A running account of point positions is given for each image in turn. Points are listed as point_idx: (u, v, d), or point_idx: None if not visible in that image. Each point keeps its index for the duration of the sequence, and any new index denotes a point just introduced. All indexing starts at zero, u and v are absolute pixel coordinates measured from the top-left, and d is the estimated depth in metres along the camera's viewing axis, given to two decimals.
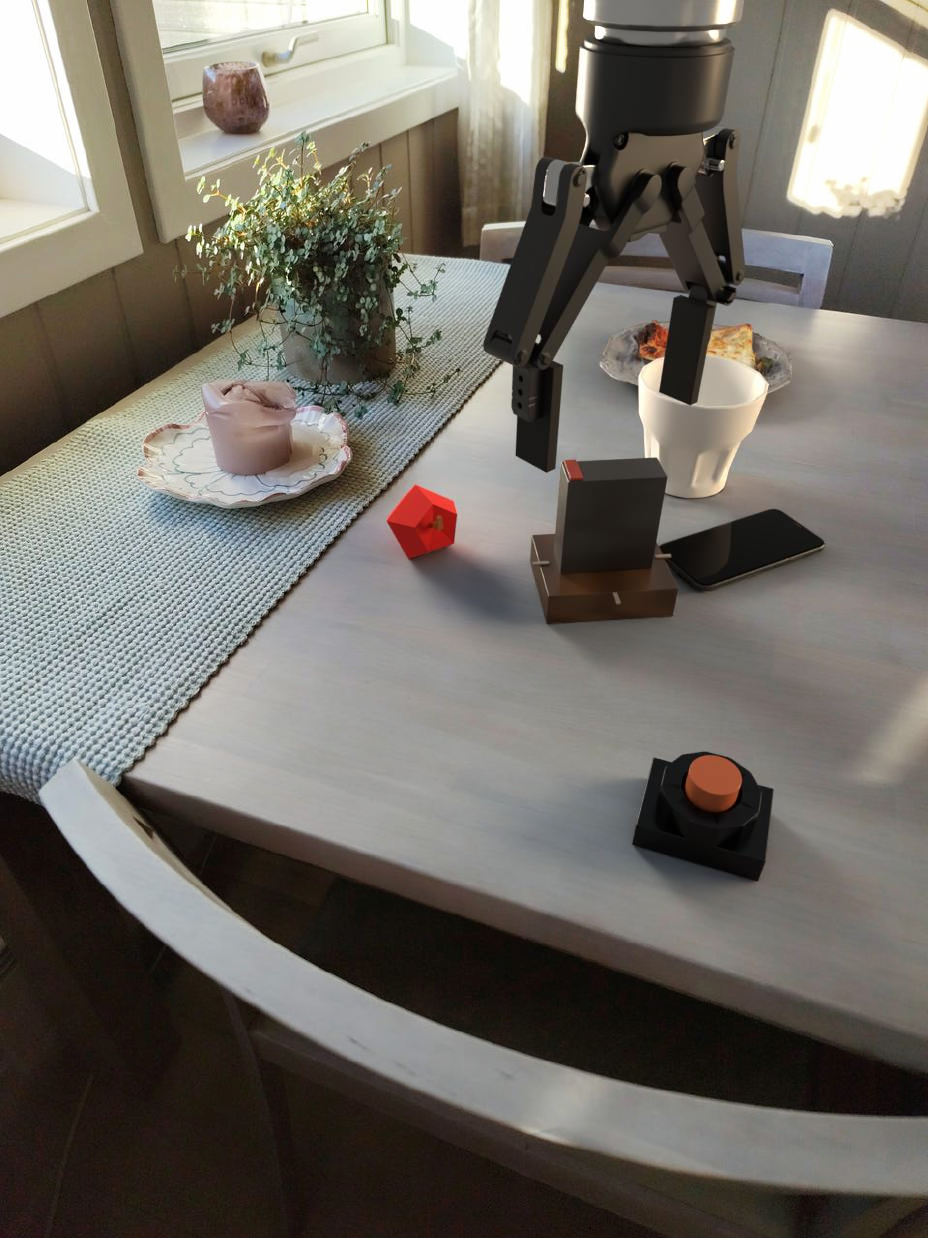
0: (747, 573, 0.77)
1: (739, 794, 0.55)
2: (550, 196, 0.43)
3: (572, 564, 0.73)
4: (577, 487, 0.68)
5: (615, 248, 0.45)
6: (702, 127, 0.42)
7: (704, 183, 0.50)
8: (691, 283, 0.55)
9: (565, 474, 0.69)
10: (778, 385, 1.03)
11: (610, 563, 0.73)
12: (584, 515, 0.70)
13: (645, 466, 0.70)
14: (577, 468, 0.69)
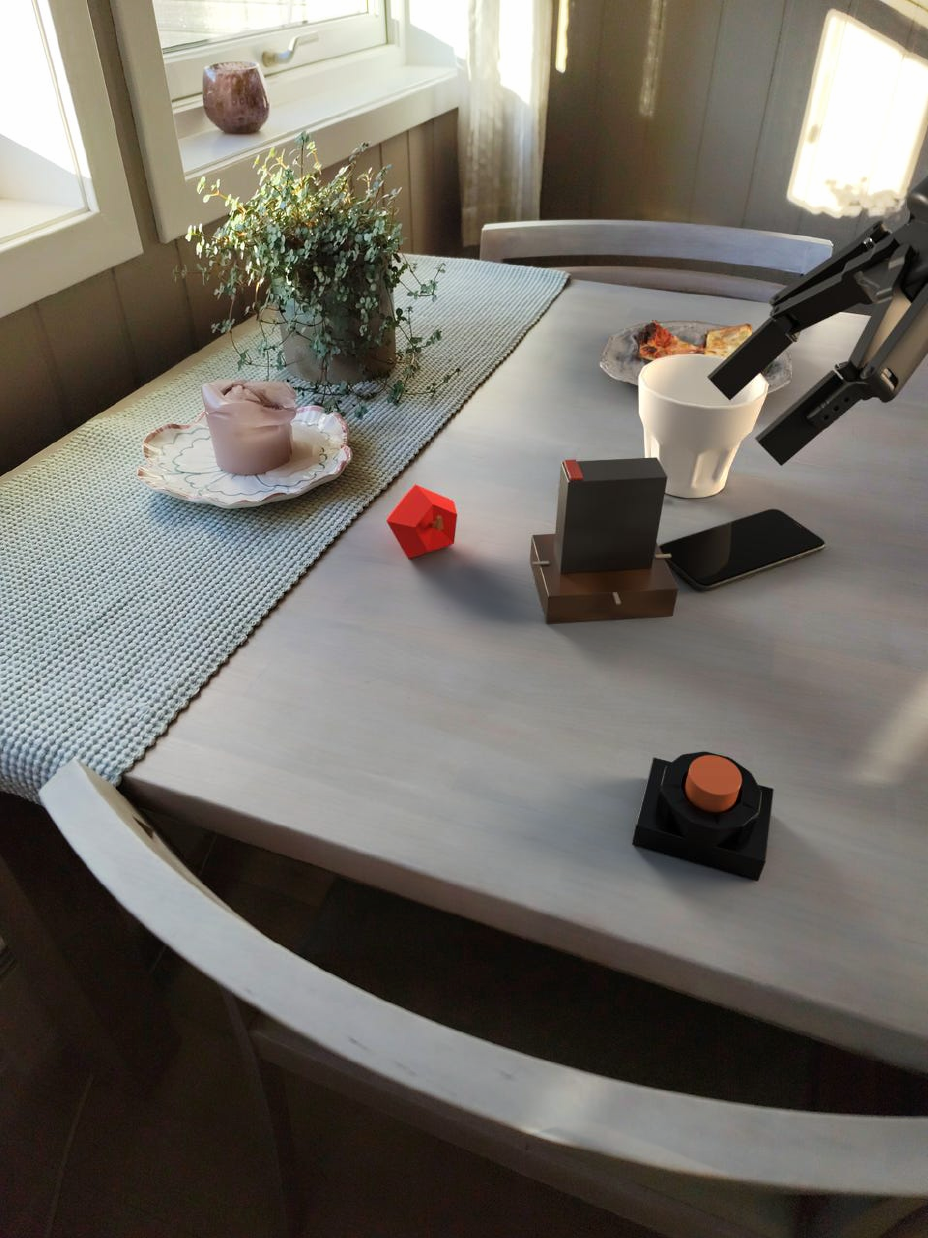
0: (747, 573, 0.77)
1: (739, 794, 0.55)
2: None
3: (572, 564, 0.73)
4: (577, 487, 0.68)
5: (844, 268, 0.64)
6: (913, 193, 0.58)
7: None
8: None
9: (565, 474, 0.69)
10: (778, 385, 1.03)
11: (610, 563, 0.73)
12: (584, 515, 0.70)
13: (645, 466, 0.70)
14: (577, 468, 0.69)
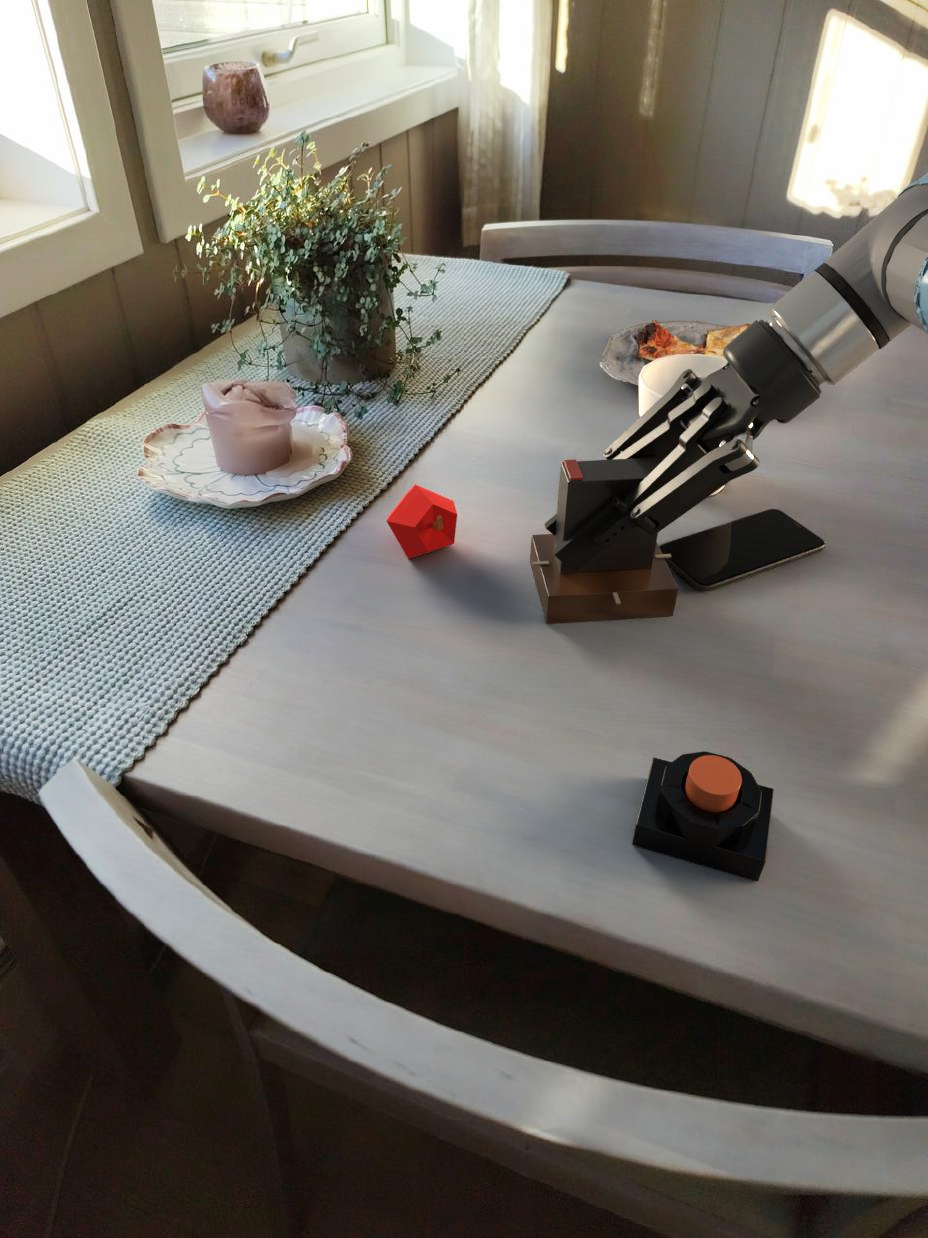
0: (747, 573, 0.77)
1: (739, 794, 0.55)
2: None
3: None
4: (577, 487, 0.68)
5: (669, 417, 0.69)
6: (726, 352, 0.64)
7: None
8: None
9: (565, 474, 0.69)
10: None
11: (610, 563, 0.73)
12: (584, 515, 0.70)
13: (645, 466, 0.70)
14: (577, 468, 0.69)
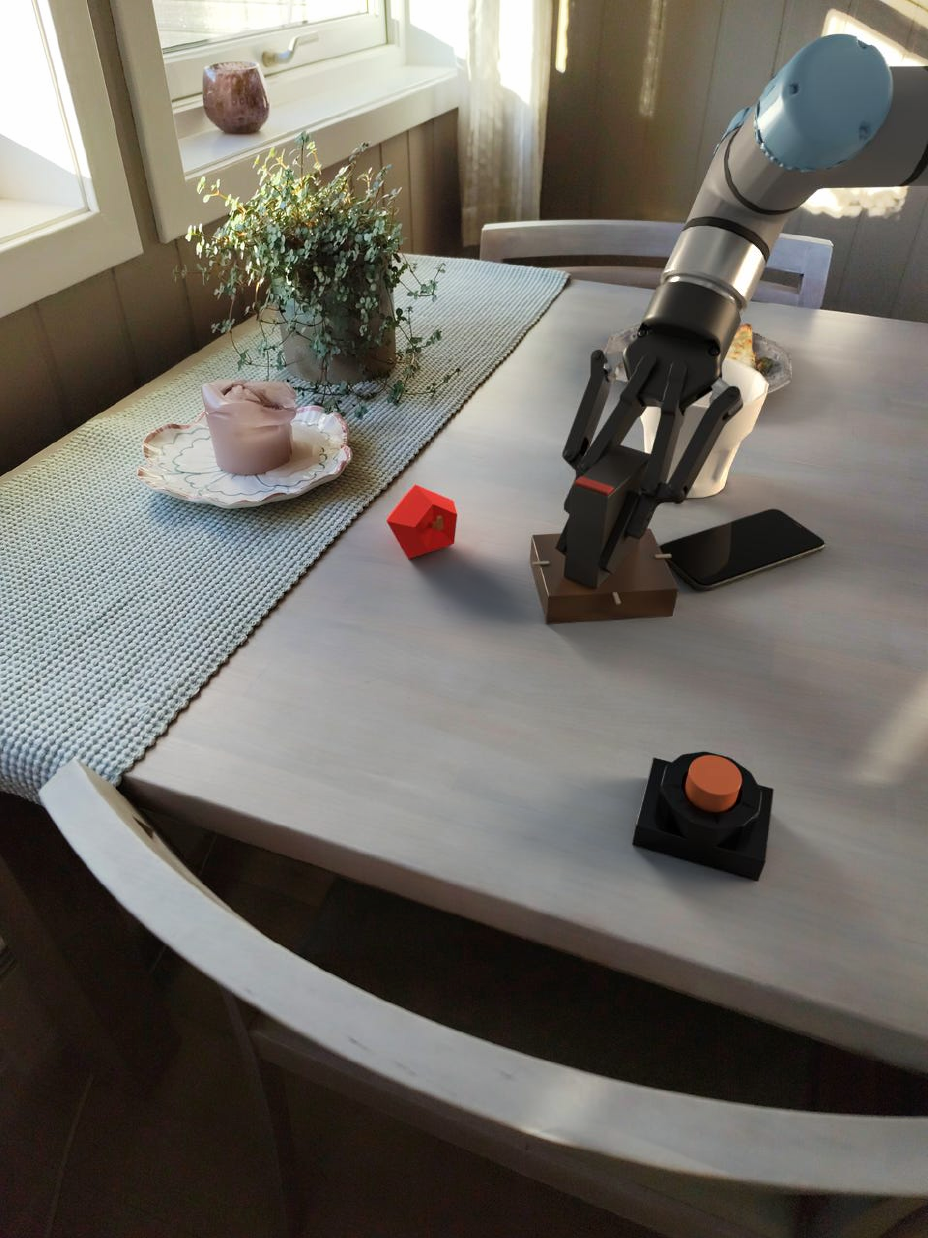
0: (747, 573, 0.77)
1: (739, 794, 0.55)
2: None
3: (603, 575, 0.72)
4: (611, 499, 0.67)
5: (627, 397, 0.71)
6: (670, 319, 0.68)
7: None
8: None
9: (592, 492, 0.67)
10: (778, 385, 1.03)
11: None
12: (613, 522, 0.69)
13: (626, 454, 0.71)
14: (596, 482, 0.67)
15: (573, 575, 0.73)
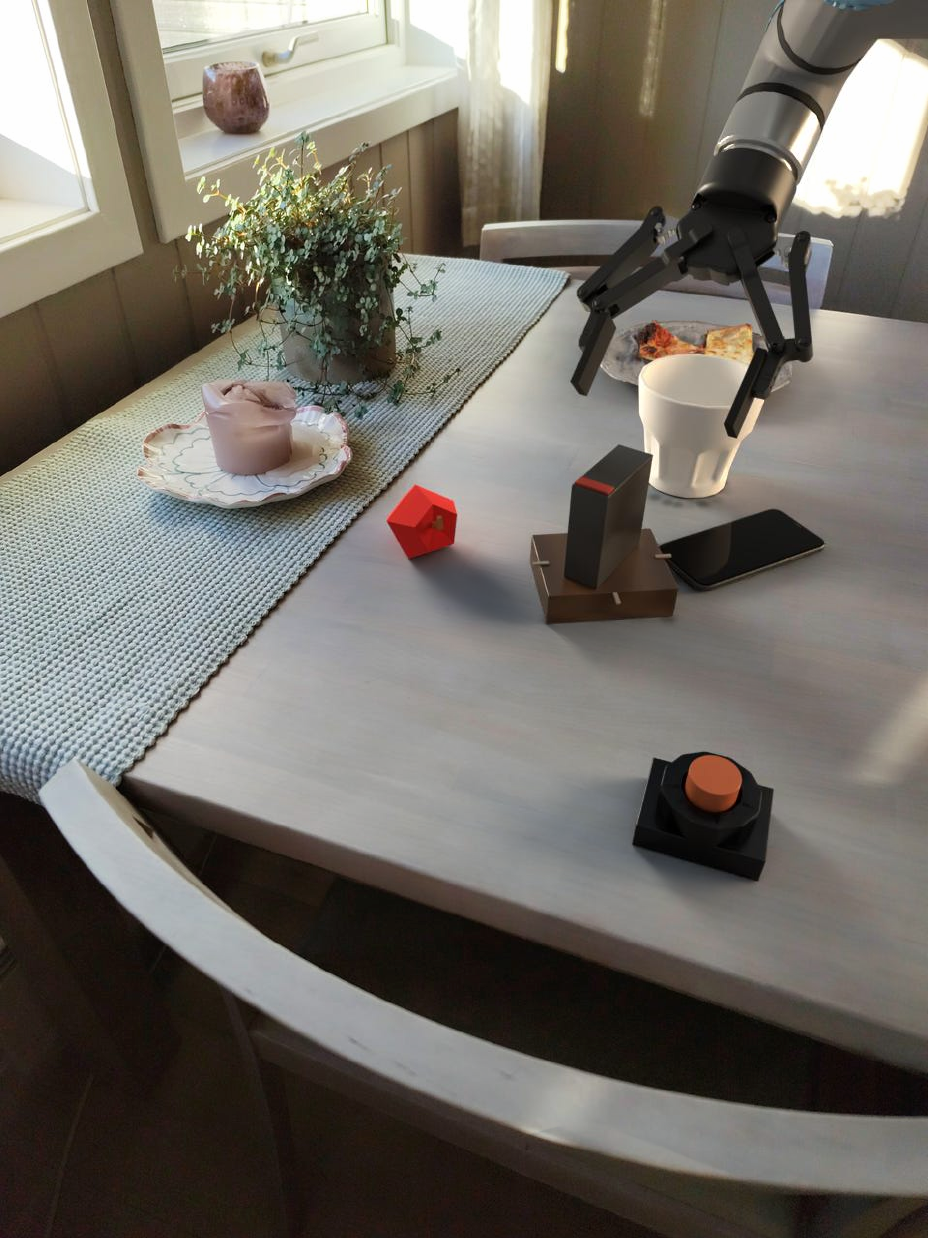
0: (747, 573, 0.77)
1: (739, 794, 0.55)
2: None
3: (603, 575, 0.72)
4: (611, 499, 0.67)
5: (667, 255, 0.71)
6: (727, 184, 0.68)
7: None
8: None
9: (593, 492, 0.67)
10: (778, 385, 1.03)
11: (621, 557, 0.74)
12: (613, 522, 0.69)
13: (626, 454, 0.71)
14: (596, 482, 0.67)
15: (573, 575, 0.73)
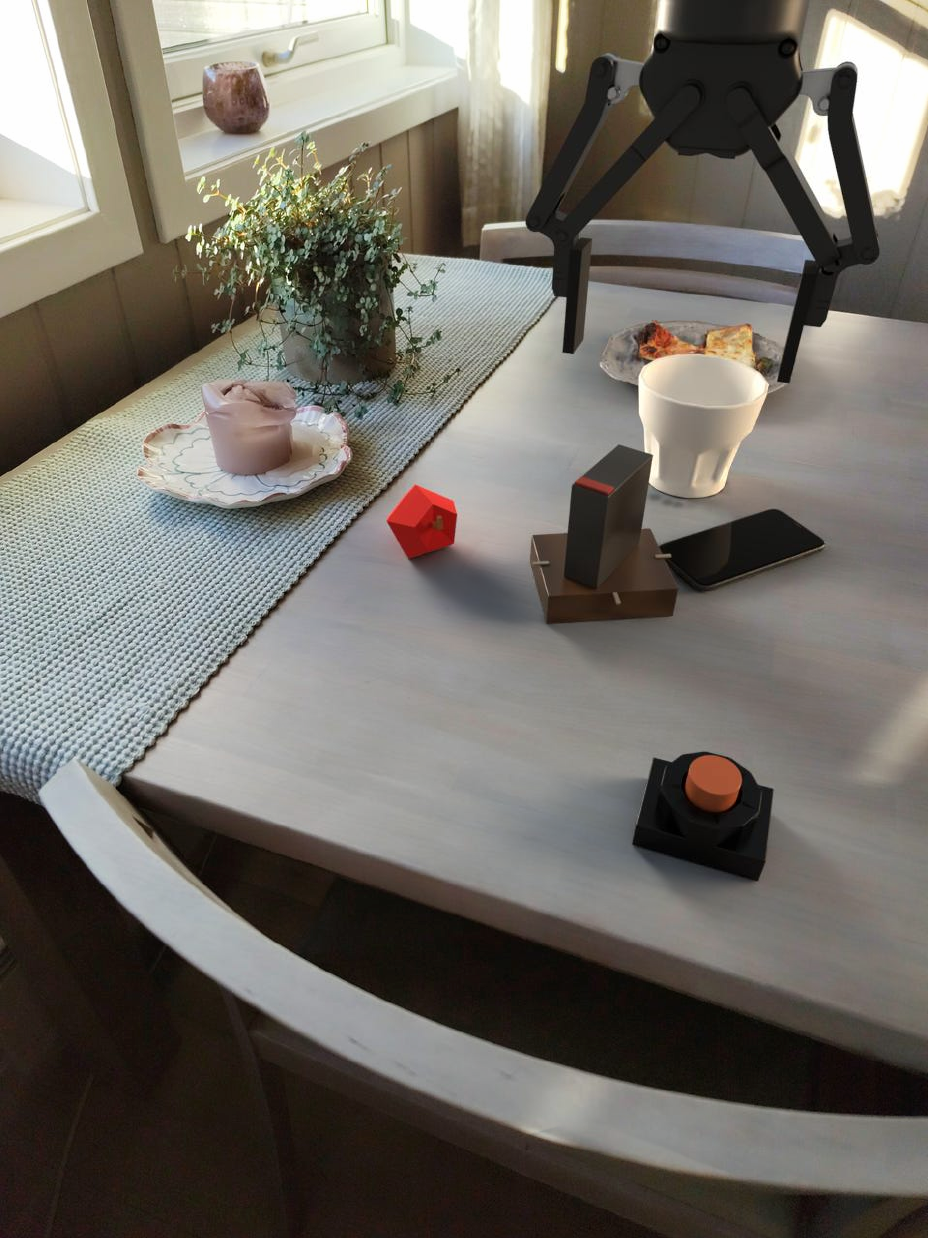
0: (747, 573, 0.77)
1: (739, 794, 0.55)
2: None
3: (603, 575, 0.72)
4: (611, 499, 0.67)
5: (641, 150, 0.48)
6: (712, 37, 0.42)
7: None
8: None
9: (593, 492, 0.67)
10: (778, 385, 1.03)
11: (621, 557, 0.74)
12: (613, 522, 0.69)
13: (626, 454, 0.71)
14: (596, 482, 0.67)
15: (573, 575, 0.73)
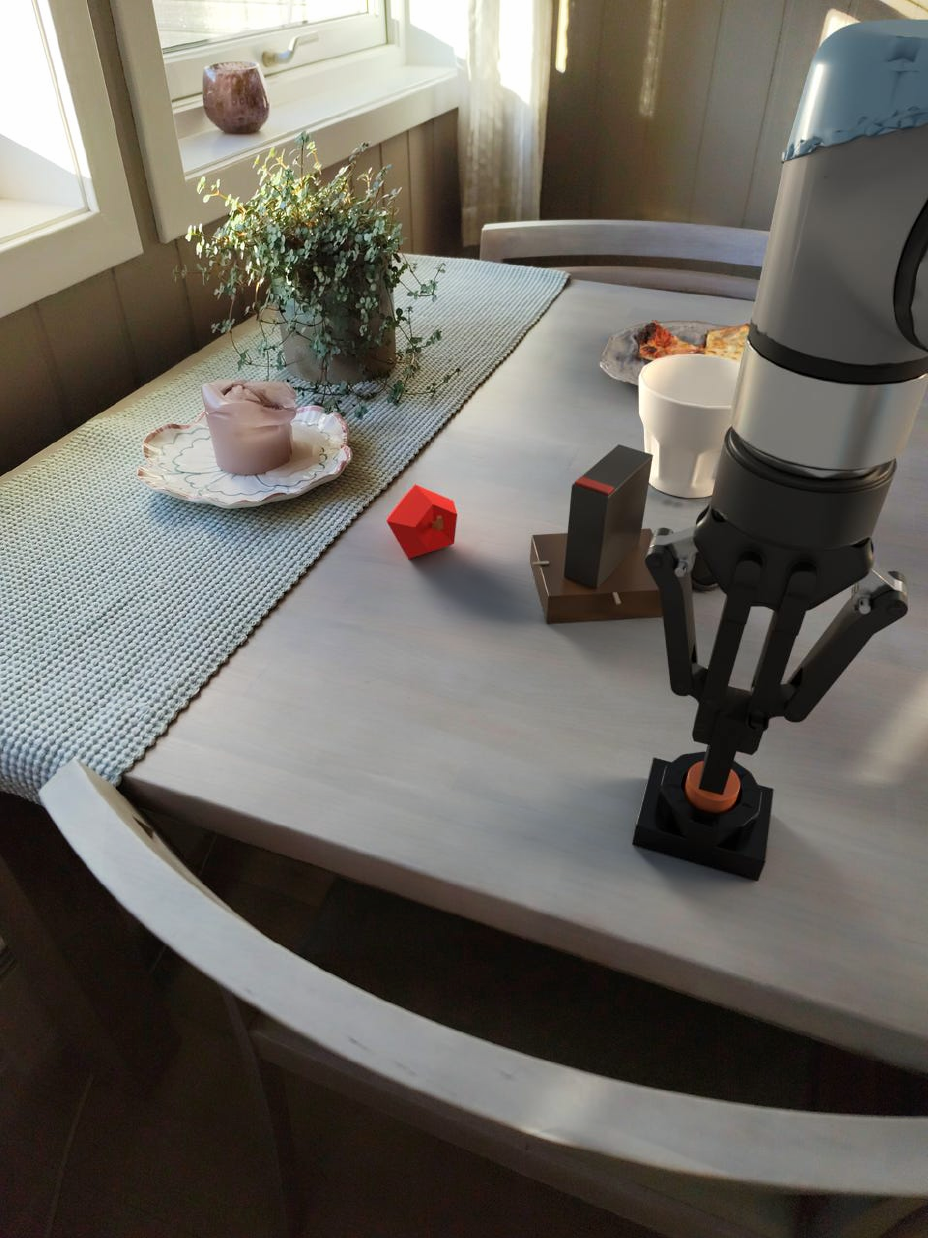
0: None
1: (739, 794, 0.55)
2: None
3: (603, 575, 0.72)
4: (611, 499, 0.67)
5: (735, 621, 0.44)
6: (780, 546, 0.39)
7: (848, 612, 0.44)
8: (752, 687, 0.50)
9: (593, 492, 0.67)
10: None
11: (621, 557, 0.74)
12: (613, 522, 0.69)
13: (626, 454, 0.71)
14: (596, 482, 0.67)
15: (573, 575, 0.73)
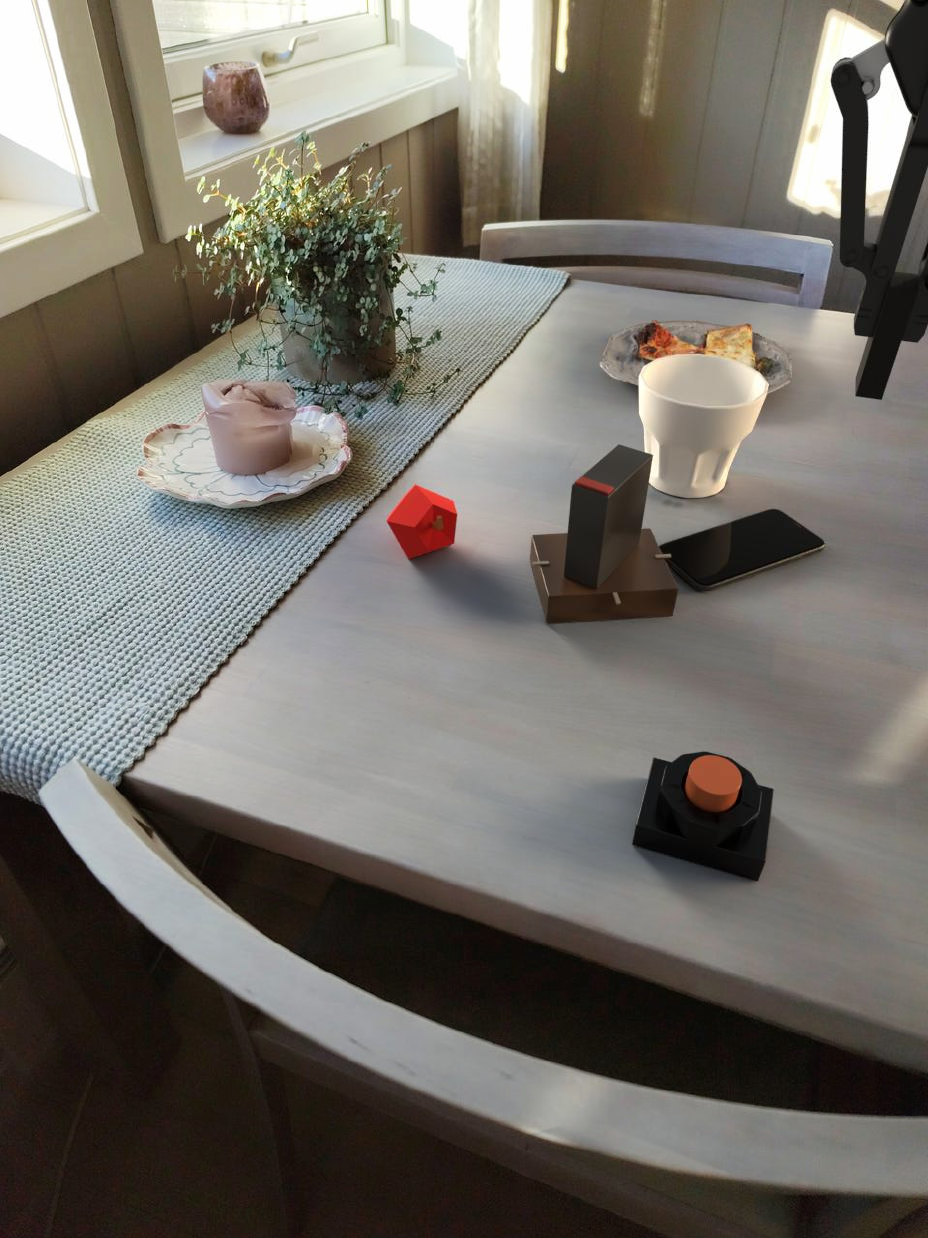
0: (747, 573, 0.77)
1: (739, 794, 0.55)
2: None
3: (603, 575, 0.72)
4: (611, 499, 0.67)
5: (925, 139, 0.43)
6: None
7: None
8: (922, 261, 0.48)
9: (593, 492, 0.67)
10: (778, 385, 1.03)
11: (621, 557, 0.74)
12: (613, 522, 0.69)
13: (626, 454, 0.71)
14: (596, 482, 0.67)
15: (573, 575, 0.73)
